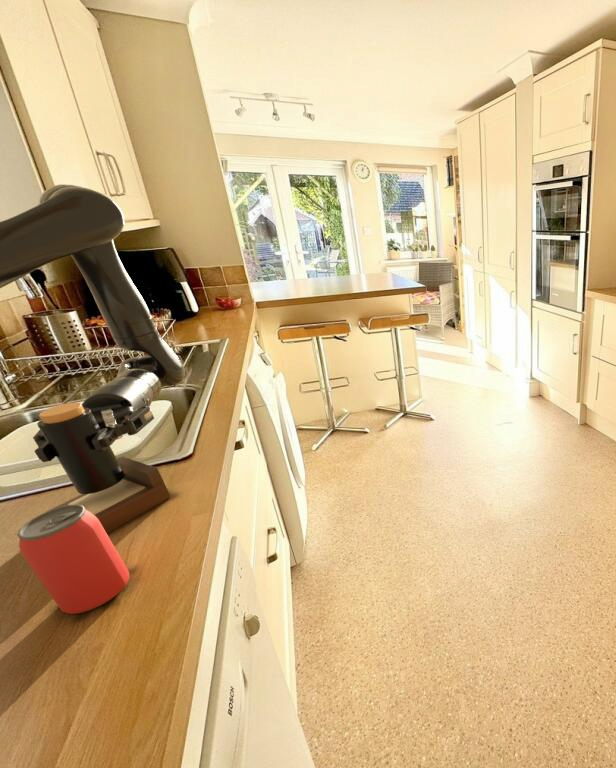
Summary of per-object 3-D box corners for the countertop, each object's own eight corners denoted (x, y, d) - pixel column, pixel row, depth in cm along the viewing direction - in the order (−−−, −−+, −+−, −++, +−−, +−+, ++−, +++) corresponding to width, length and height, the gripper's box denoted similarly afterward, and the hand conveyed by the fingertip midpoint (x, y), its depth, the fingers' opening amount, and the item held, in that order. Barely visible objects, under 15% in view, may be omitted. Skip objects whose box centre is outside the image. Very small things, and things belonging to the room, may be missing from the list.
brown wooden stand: (55, 526, 64) (36, 495, 62) (136, 484, 74) (122, 456, 71) (90, 543, 61) (71, 511, 58) (171, 497, 70) (157, 467, 68)
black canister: (69, 489, 64) (24, 415, 58) (113, 469, 68) (74, 398, 63) (89, 497, 62) (44, 421, 56) (132, 476, 66) (94, 403, 61)
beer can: (135, 590, 53) (93, 517, 48) (64, 627, 48) (9, 551, 43) (127, 563, 57) (87, 494, 52) (60, 596, 52) (10, 523, 48)
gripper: (58, 392, 70) (-11, 441, 56) (159, 376, 75) (120, 417, 61) (79, 430, 73) (19, 485, 59) (175, 413, 78) (141, 460, 64)
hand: (70, 450), depth 60 cm, fingers closed on black canister, 5 cm apart
